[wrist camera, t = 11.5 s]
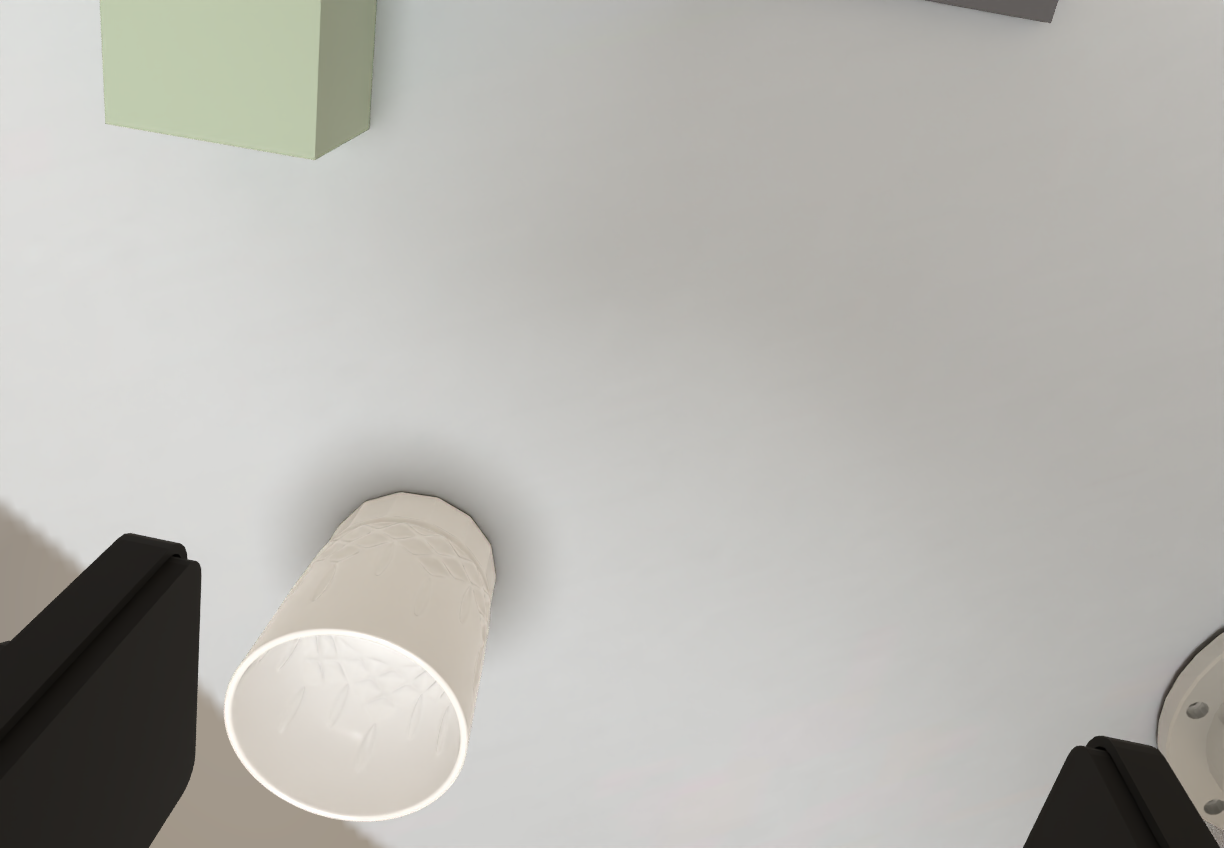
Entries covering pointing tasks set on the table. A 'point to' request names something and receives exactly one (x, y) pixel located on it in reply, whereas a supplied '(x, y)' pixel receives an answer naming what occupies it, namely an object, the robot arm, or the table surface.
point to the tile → (1011, 7)
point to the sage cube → (241, 70)
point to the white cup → (370, 665)
